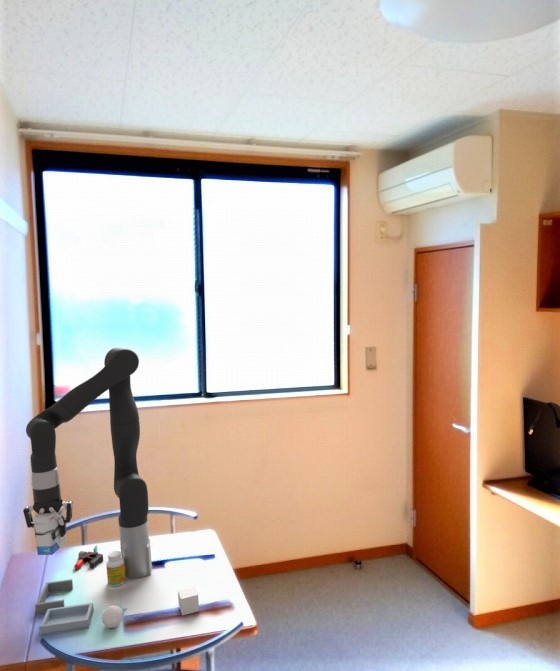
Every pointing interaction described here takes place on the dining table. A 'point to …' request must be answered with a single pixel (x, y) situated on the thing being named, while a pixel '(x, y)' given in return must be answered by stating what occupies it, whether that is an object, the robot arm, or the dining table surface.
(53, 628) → the tray
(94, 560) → the toy gun
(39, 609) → the cradle
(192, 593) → the white cube
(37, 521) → the ink box
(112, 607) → the white ball
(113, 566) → the supplement bottle
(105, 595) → the dining table surface
